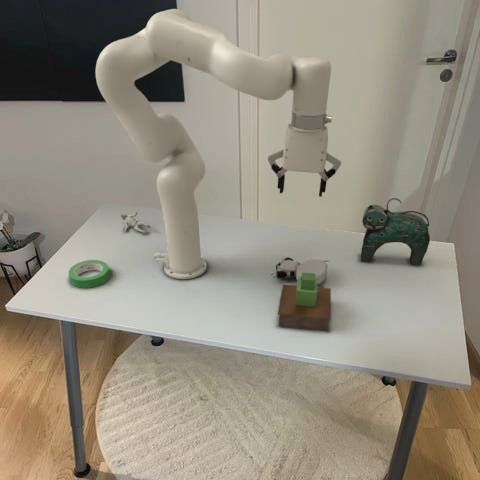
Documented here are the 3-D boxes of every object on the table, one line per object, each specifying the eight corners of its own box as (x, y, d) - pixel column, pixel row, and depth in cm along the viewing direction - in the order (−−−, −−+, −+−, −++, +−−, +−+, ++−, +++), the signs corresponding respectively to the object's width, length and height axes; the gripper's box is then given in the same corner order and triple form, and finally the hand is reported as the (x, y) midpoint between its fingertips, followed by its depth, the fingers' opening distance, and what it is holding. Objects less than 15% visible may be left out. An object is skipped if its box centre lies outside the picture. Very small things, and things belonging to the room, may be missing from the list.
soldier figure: (138, 240, 153) (111, 222, 155) (144, 243, 157) (117, 226, 160) (151, 220, 152) (123, 202, 155) (156, 224, 157) (129, 207, 159)
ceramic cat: (355, 262, 139) (366, 200, 127) (355, 252, 144) (365, 190, 132) (423, 268, 137) (442, 205, 124) (420, 257, 142) (438, 195, 129)
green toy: (295, 305, 115) (297, 281, 111) (296, 293, 119) (298, 270, 114) (315, 307, 114) (318, 282, 110) (316, 295, 118) (319, 271, 114)
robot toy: (268, 285, 131) (320, 294, 126) (268, 271, 129) (320, 280, 123) (282, 264, 140) (331, 272, 135) (282, 251, 137) (332, 258, 132)
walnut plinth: (277, 327, 115) (278, 312, 113) (281, 298, 125) (282, 284, 122) (328, 332, 114) (330, 317, 111) (328, 302, 124) (330, 288, 121)
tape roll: (109, 265, 139) (107, 257, 137) (110, 285, 130) (108, 277, 129) (71, 269, 137) (69, 262, 135) (69, 290, 128) (67, 282, 127)
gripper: (347, 118, 106) (336, 190, 116) (272, 113, 108) (268, 184, 119) (346, 128, 100) (335, 202, 110) (267, 122, 102) (264, 196, 113)
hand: (301, 192), depth 115 cm, fingers open, 9 cm apart
